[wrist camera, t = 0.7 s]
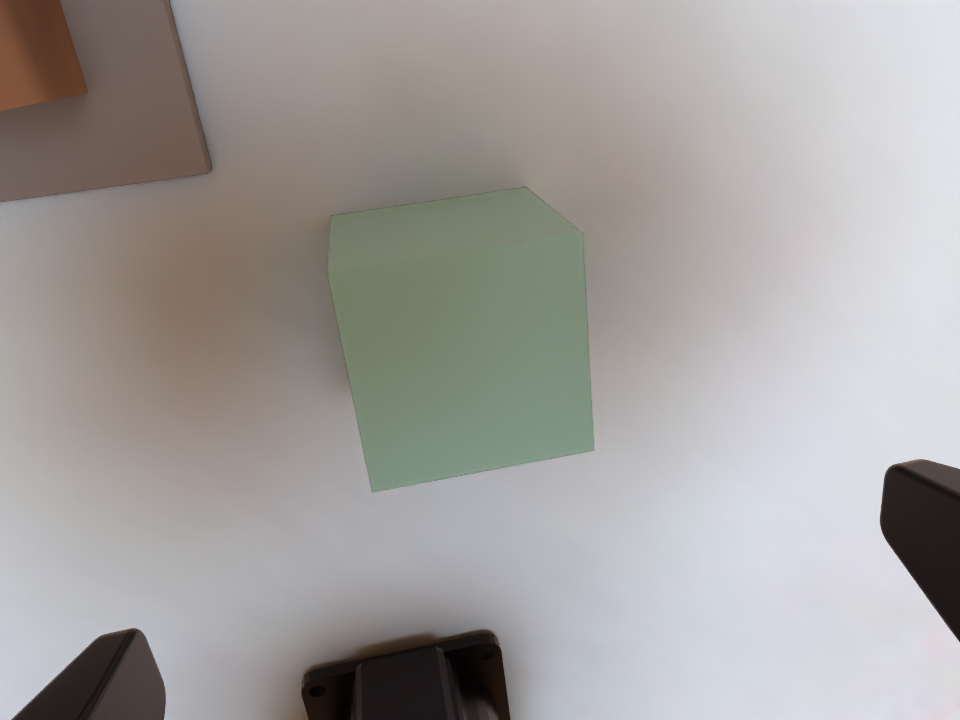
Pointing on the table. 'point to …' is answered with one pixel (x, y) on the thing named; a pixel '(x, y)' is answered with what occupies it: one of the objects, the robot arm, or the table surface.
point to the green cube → (462, 334)
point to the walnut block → (36, 54)
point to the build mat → (109, 109)
